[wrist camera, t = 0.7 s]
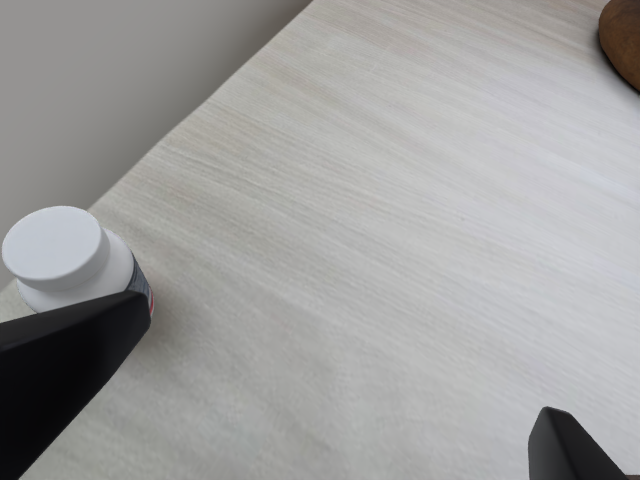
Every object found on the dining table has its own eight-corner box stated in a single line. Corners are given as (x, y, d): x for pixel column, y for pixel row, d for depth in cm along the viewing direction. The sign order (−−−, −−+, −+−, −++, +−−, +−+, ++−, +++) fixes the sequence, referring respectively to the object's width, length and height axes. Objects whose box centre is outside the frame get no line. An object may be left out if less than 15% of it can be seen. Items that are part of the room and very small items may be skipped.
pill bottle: (166, 281, 26) (135, 205, 19) (139, 356, 23) (90, 303, 16) (87, 268, 26) (23, 185, 18) (49, 344, 23) (-45, 282, 15)
